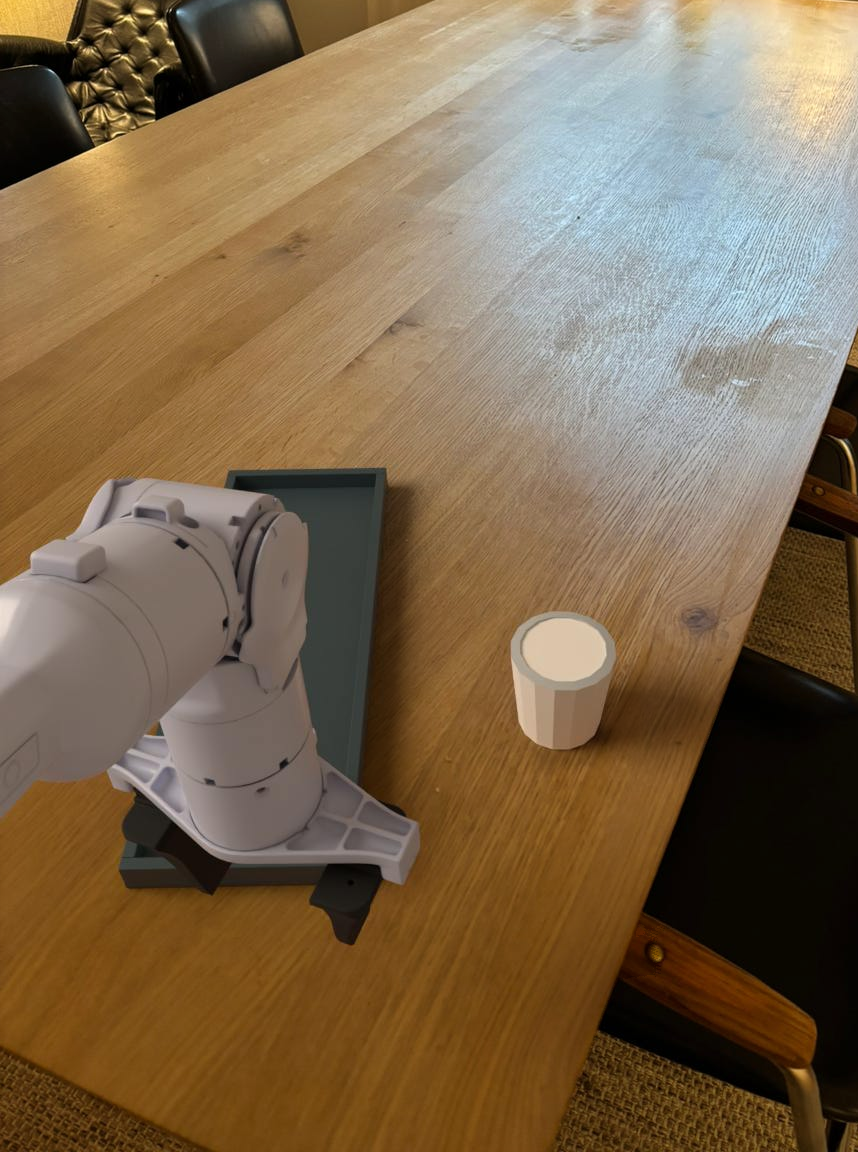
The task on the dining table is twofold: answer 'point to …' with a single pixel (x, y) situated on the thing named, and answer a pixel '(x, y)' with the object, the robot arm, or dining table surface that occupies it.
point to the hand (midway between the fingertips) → (284, 900)
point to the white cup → (561, 677)
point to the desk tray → (315, 638)
